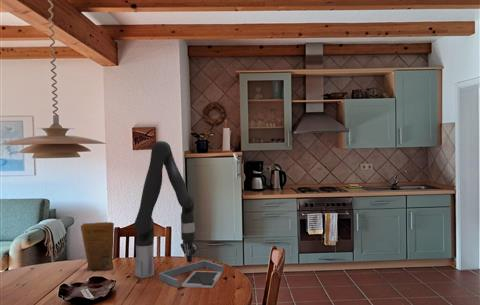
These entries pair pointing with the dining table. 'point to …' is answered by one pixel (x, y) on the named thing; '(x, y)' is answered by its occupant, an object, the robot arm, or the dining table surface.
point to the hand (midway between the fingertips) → (189, 261)
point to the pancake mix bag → (98, 245)
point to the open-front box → (168, 278)
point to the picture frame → (202, 279)
